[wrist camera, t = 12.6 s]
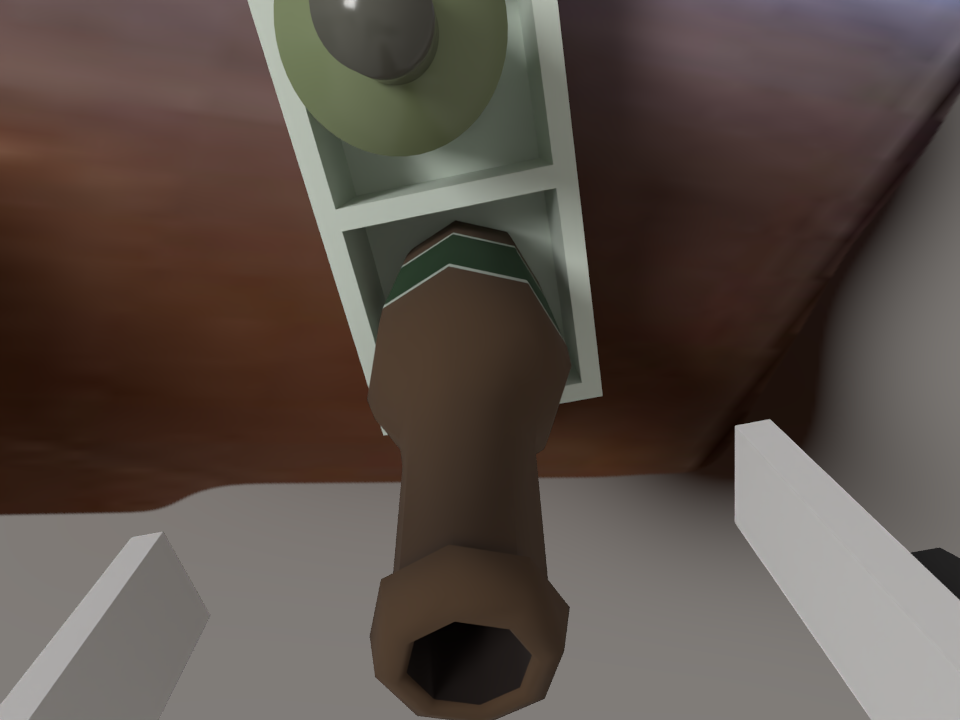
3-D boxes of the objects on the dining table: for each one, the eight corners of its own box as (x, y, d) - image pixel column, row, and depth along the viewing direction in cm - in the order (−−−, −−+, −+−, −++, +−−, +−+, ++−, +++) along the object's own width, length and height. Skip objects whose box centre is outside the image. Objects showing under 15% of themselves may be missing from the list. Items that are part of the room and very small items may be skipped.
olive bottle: (380, 154, 28) (278, 190, 13) (344, 13, 26) (165, -148, 10) (500, 128, 28) (540, 134, 13) (475, -18, 25) (489, -230, 10)
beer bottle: (562, 268, 31) (795, 628, 9) (484, 369, 33) (515, 846, 11) (449, 186, 29) (392, 392, 7) (375, 301, 31) (161, 716, 9)
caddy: (396, 387, 35) (383, 435, 29) (272, -40, 25) (221, -82, 20) (581, 353, 34) (602, 395, 29) (523, -99, 25) (539, -159, 19)
